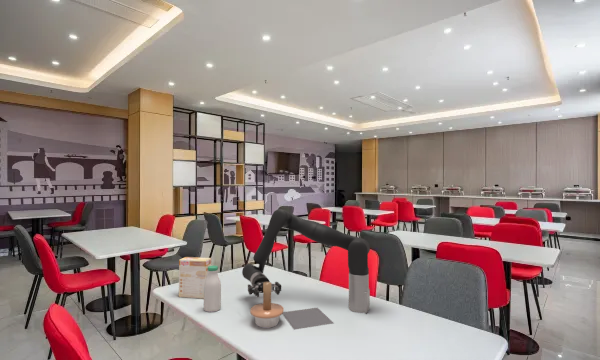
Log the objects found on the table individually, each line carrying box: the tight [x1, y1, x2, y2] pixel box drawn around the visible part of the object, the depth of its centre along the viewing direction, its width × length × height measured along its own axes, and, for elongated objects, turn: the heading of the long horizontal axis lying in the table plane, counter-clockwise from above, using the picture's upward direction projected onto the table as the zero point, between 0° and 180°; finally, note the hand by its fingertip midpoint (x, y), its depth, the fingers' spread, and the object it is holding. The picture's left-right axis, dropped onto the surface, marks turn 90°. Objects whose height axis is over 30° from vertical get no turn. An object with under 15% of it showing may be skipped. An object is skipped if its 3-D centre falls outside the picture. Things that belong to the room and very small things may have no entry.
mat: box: [282, 307, 334, 331], centre depth 141 cm, size 18×18×1 cm
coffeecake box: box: [178, 256, 212, 300], centre depth 168 cm, size 15×7×20 cm, turn 80°
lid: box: [249, 281, 285, 318], centre depth 136 cm, size 14×14×12 cm
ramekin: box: [254, 316, 280, 329], centre depth 136 cm, size 11×11×5 cm
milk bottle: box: [203, 265, 222, 313], centre depth 151 cm, size 8×8×20 cm
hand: (268, 293), depth 134 cm, fingers open, 8 cm apart
